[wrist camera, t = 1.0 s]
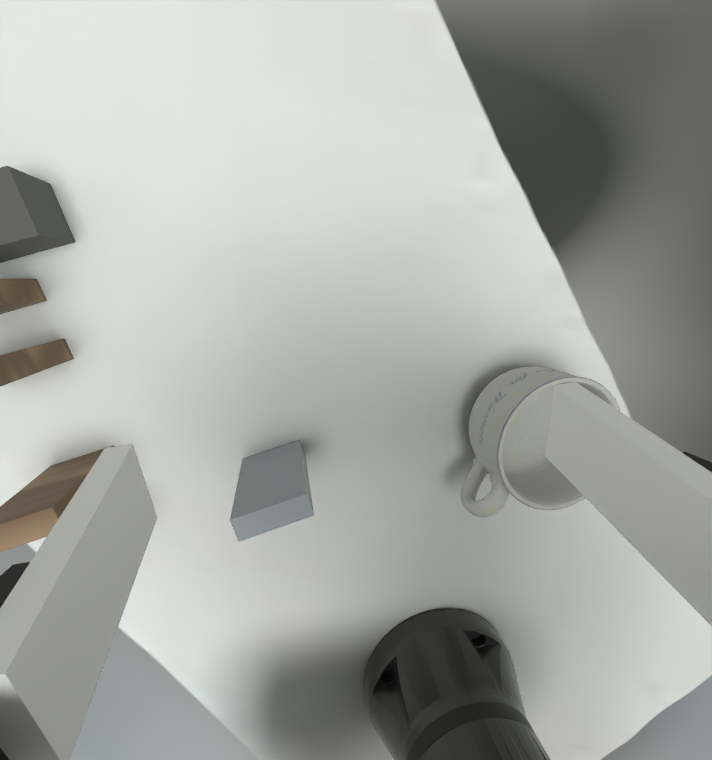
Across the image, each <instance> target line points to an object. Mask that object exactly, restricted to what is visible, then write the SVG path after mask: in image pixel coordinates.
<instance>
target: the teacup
mask: <svg viewBox="0 0 712 760" xmlns="http://www.w3.org/2000/svg"><path fill="white" fill-rule="evenodd" d="M573 382H577V383H578V384H580V385H581V386H583V387H584V388H586V389H587V390H589V391H590V392H592V393H593V394H595V395H596V396H598V397H599V398H601V399H602V400H604V401H605V402H607V403H608V404H610V405H611V406H613V407H614V408H616V409H617V410H619V411H620V409H619V406H618V404H617V401H616V399H615V398H614V397H613V396H612V394H611V393H610V392H609V391H608V390H607V389H606V388H605V387H604V386H602V385H601V384H599V383H597V382H596V381H593V380H591V379H587V378H583V377H576V376H573V375H570V374H567V373H564V372H560V371H557V370H553V369H549V368H544V367H536V366H529V367H520V368H516V369H512V370H510V371H507V372H505V373H503V374H501V375H500V376H498V377H496V378H495V379H494V380H492V381H491V382H490V383H489V384H488V385H487V386H486V387H485V388H484V389H483V391H482V392H481V393H480V394H479V396H478V398H477V399H476V401H475V403H474V406H473V408H472V411H471V414H470V420H469V438H470V443H471V446H472V449H473V451H474V453H475V455H476V456H475V458H474V459H473V463H472V468H471V469H470V471H469V473H468V475H467V477H466V479H465V481H464V483H463V486H462V489H461V500H462V503H463V505H464V507H465V508H466V509H467V510H468V511H469V512H470V513H472V514H473V515H475V516H479V517H487V516H491V515H493V514H494V513H496V512H497V511H499V510H500V509H501V508H502V506H503V505H504V504H505V501H506V499H507V497H508V494H509V493H510V494H511V495H512V496H513V497H515V498H516V499H517V500H518V501H520V502H522V503H523V504H525V505H527V506H529V507H532V508H535V509H541V510H556V509H561V508H565V507H568V506H571V505H573V504H576V503H577V502H579V501H581V500H583V499H585V498H586V497H585V496H584V495H583V494H582V493H581V492H580V491H579V490H578V489H577V488H576V487H575V486H574V485H573V484H572V483H571V482H570V481H569V480H568V479H567V478H566V477H565V476H564V475H563V474H562V473H561V472H560V471H559V470H558V469H557V468H556V467H555V466H554V465H553V464H552V463H551V462H550V461H549V460H548V459H547V458H546V457H545V450H546V443H547V435H548V427H549V420H550V412H551V405H552V397H553V389H554V385H558V384H566V383H573ZM620 412H621V411H620ZM487 473H490V474H491V477H490V478H491V481H492V483H493V485H492V490H491V492H490V493H489V494H488V495H487V496H486V497H485V498H483V499H482V500H479V501H475V497H476V493H477V490H478V488H479V486H480V484H481V482H482V480H483V478H484V477H485V475H486V474H487Z"/></svg>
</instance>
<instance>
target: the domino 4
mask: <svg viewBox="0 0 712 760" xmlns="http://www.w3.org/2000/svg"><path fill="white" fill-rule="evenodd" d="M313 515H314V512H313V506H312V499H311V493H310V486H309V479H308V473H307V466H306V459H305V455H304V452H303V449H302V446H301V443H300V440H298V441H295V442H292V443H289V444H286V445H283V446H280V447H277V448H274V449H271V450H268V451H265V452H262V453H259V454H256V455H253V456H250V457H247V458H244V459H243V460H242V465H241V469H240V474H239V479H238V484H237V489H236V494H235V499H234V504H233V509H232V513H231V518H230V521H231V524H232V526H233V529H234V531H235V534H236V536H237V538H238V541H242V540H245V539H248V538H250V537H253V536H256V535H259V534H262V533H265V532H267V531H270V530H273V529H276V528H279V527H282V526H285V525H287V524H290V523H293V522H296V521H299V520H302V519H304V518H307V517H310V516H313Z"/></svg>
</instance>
